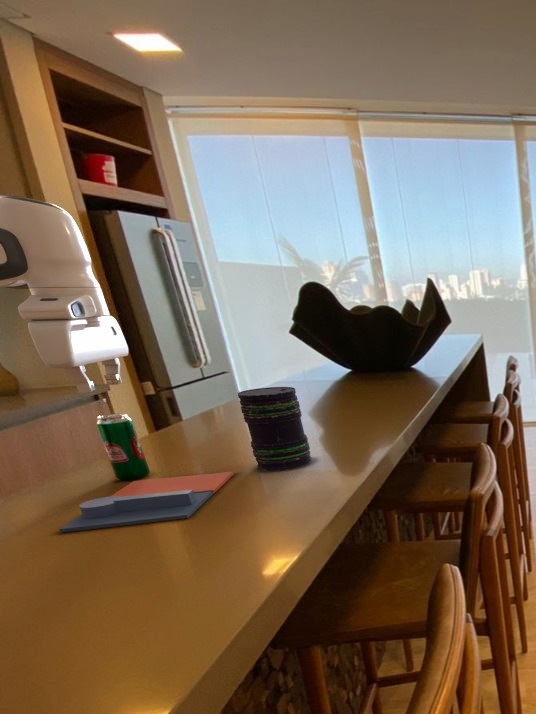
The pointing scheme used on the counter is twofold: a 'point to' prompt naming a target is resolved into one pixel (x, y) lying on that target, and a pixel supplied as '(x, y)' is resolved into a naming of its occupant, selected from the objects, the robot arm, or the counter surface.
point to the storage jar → (275, 428)
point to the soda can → (122, 446)
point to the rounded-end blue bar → (135, 503)
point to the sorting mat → (202, 491)
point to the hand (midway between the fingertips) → (102, 388)
